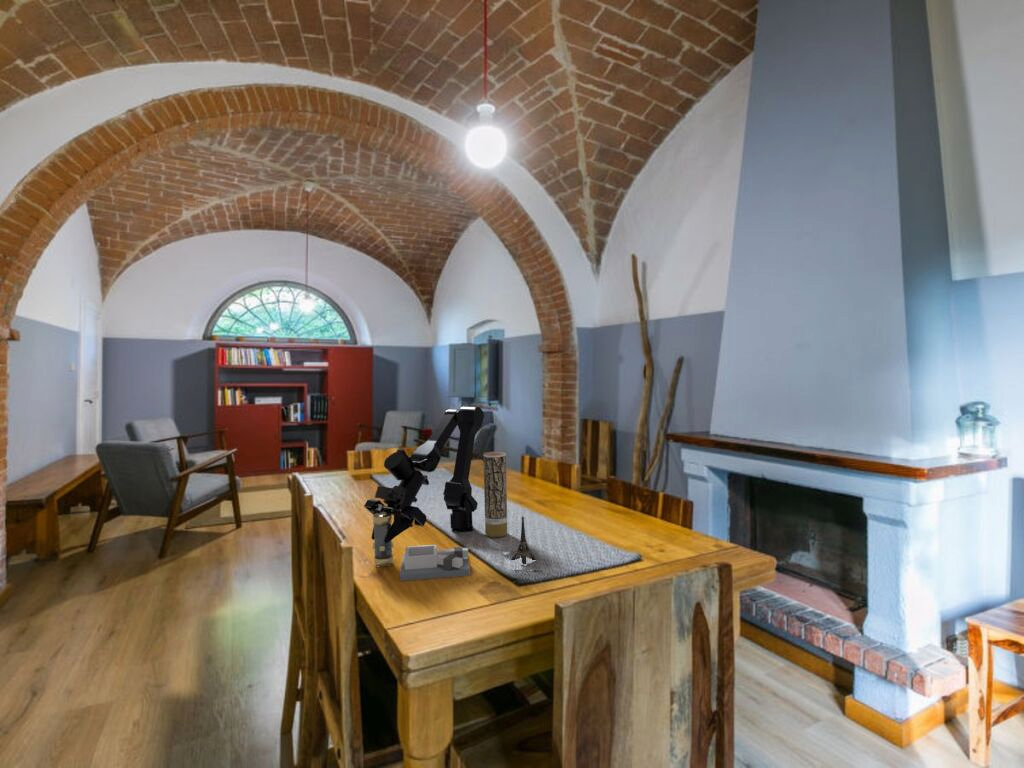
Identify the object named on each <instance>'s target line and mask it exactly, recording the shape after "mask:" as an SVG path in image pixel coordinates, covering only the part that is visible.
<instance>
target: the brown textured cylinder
mask: <svg viewBox="0 0 1024 768" xmlns="http://www.w3.org/2000/svg"><path fill="white" fill-rule="evenodd" d="M483 482H484V483H483V488H484V489H483V490H484V491H483V492H484V497H483V498H484V526H485V527H484V529H485V532H484V533H485V534H486V537H489V538H502V537H505V536H506V535H507V534H508V493H507V492H508V491H507V490H508V489H507V488H508V486H507V454H506V452H504V451H502V452H501V451H487V452H484V453H483Z"/></svg>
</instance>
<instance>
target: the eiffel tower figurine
mask: <svg viewBox="0 0 1024 768" xmlns="http://www.w3.org/2000/svg"><path fill="white" fill-rule="evenodd" d="M520 528H521V531H520V539H519V545H518V548H517V549H516V550H515V554H513V556H512V558H511V559H510V560H515V559H516V558H518V557H520V556H521V558H522V563H523V564H526V557H529V558H532V560H538V559H537V558H536V557H535V556H534V554H533V553H532V550H531V549H530V548H529V545H528V541H527V537H526V531H525V528H526V527H525V517H524V515H522V517H521V527H520Z"/></svg>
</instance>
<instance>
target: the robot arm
mask: <svg viewBox="0 0 1024 768" xmlns="http://www.w3.org/2000/svg"><path fill="white" fill-rule="evenodd" d="M484 419H485V412H484V411H483V409H482V407H480V406H466V405H465V406H462V407H460V408H458V409H455V408H449V409H446V410H445V412H444V416H443V417H442V419H440V422H439V423H438V425H437V426H436V428H435V429H434V431H433V432H432V433H431V435H430V436H429V438H428V439H427V440H426V442H423V444H421V445H419V446H418V447H417V448H416V449H415V450H414V451H413V453H412V454H411V455H408V454H407V452H406V451H405V449H399V448H398V449H397V450H396V452H393V453H392V454H390V455H388V456H387V457H386V458H385V460H384V462H383V467H384V468H385V469H386V470H387V471H388V472H389V473H390V475H392V476H393V477H394V478H395V479H396V480H397V481H400V482H399V484H398V485H394V486H393V487H388V486H383V485H377V487H376V488H377V489H376V492H375V494H374V498H375V499H373V498H370V499H367V501H366V502H365V503H364V505H363V507H364V508H365V509H366V510H367V511H368V512H369V513H371V515H372V516H373V515H375V514H377V513H391V514H392V516H393V520H392V523H391V527H390V529H389V531H388V533H387V535H386V537H385V540H384V542H385V543H388V542H389V541H391V540H393V539H395V538H396V537H398V536H399V535H400V534H402V533H403V532H405V531H406V530H408V529H409V528H413V527H414V525H415V526H419V527H422V528H423V527H424V526H425V525H426V522H427V515H426V514H425V513H424V512H423V511H422V510H421V508H419V507H418V506H413V505H412V504H413V503H415V504H416V503H417V502H418V498H417V496H418V493H419V491H420V490H421V488H422V487H423V486H422V485H425V486H429V485H430V482H429V477H428V475H426V474H423V473H422V472H426V473H433V472H434V471H435V470H436V469H437V468H438V465H439V463H440V461H441V459H442V455H441V454H442V449H443V448H444V447H445V445H446V443H447V442H448V440H450V437H451V436H452V434H453V432H454V431H455V430H456V428H457V429H458V430H459V438H458V444H457V451H456V456H455V460H454V461H455V463H454V467H453V468H454V469H453V475H452V478H451V479H450V480H449V481H445V483H444V491H443V493H442V495H443V500H444V502H445V506H446V509H447V510H451V513H450V515H449V516H450V517H449V519H450V520H449V521H450V529H451V531H460V532H468V531H469V532H470V531H474V527H473V513H474V512H475V511H477V510H478V504H479V503H478V501H477V500H476V499H475V497H473V495H472V491H473V489H472V485H471V482H470V480H469V478H470V472H471V465H472V458H473V452H474V445H475V439H476V438H475V437H476V435H477V433H478V432H479V431H480V429H481V428H482V426H483V421H484ZM379 499H381V500H383V501H381V500H379ZM386 505H387V506H386ZM413 523H414V525H413ZM372 527H373V528H372V534H371V540H373V541H374V526H372Z"/></svg>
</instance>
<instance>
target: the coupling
mask: <svg viewBox="0 0 1024 768" xmlns="http://www.w3.org/2000/svg"><path fill="white" fill-rule="evenodd" d="M392 516H393V515H392V514H391V513H377V514H375V515H373V514H372V524H373V527H374V540H373V541H374V542H373V543H372V549H373V550H374V557H373V561H374V564H375V565H376V566H379V567H378V568H386V567H385V566H388V567H390V566H392V565H393V564H394V555H393V549H394V541H392V540H393V539H392V540H391V541H389V542H388V543H385V542H384V540H385V537H386V535H387V533H388V531H389V529H390V527H391V525H392V523H393V519H392V518H393V517H392ZM375 565H374V566H375ZM389 565H390V566H389ZM376 566H375V567H376Z"/></svg>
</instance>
